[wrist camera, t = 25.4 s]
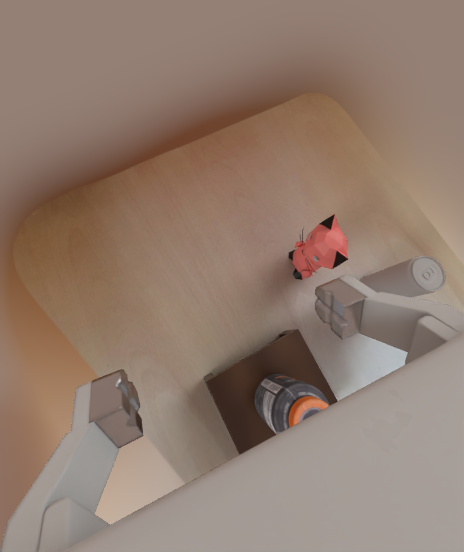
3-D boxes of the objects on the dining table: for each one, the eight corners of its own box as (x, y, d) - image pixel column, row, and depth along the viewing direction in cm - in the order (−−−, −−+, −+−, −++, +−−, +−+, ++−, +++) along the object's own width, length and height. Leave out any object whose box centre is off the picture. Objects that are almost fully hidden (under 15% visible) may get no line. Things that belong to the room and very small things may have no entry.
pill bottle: (306, 389, 34) (359, 411, 24) (285, 434, 33) (332, 479, 22) (267, 364, 34) (302, 374, 24) (244, 407, 33) (270, 440, 22)
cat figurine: (277, 246, 44) (308, 212, 33) (315, 241, 45) (357, 206, 34) (287, 288, 43) (323, 267, 31) (326, 281, 44) (374, 259, 32)
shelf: (243, 460, 36) (251, 478, 31) (203, 377, 38) (205, 382, 33) (325, 404, 39) (344, 413, 34) (285, 330, 41) (298, 329, 36)
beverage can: (348, 287, 44) (404, 268, 33) (368, 271, 45) (428, 247, 34) (367, 311, 44) (430, 300, 32) (386, 294, 45) (453, 277, 33)
